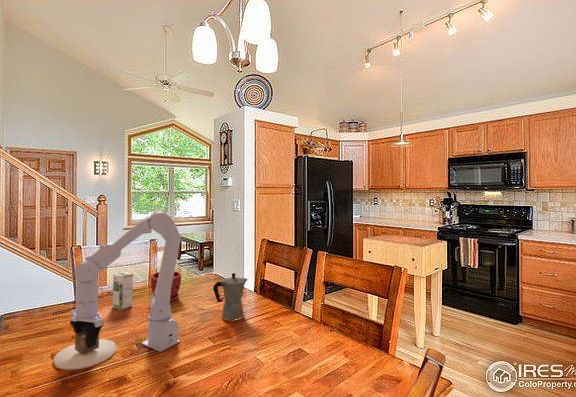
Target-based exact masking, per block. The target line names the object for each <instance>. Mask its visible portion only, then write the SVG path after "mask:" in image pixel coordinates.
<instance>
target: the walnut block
mask: <svg viewBox="0 0 576 397" xmlns="http://www.w3.org/2000/svg"><path fill="white" fill-rule="evenodd" d="M74 336H75V337H74V344H75V350H76V351H78V352H80V353H81V354H85V353H88V352H90V351H92V350H95V349H97V348H99V339H100V333H99V334H98V337H97V341H96V344H95V346H92V347H90V348H87V345H86V338H85V334H84V331H82V332H79V333H76V334H75V333H74Z"/></svg>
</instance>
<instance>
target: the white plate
mask: <svg viewBox="0 0 576 397" xmlns="http://www.w3.org/2000/svg"><path fill="white" fill-rule="evenodd" d="M116 352H117V344H116V343H115V342H114V341H112V340H111V339H105V338H104V339H100V338H99V348H97V349H95V350H92V351H90V352H88V353H85V354H81V353H80V352H78V351H76V350H75V343H74V344H71V345H69V346H67V347H64V348H63V349H62V350H60V351H59V352H57V353H56V354H55V356H54V357H53V366H55V368H58V369H60V370H63V371H75V370H81V369H87V368H90V367H93V366H96V365H99V364H102V363H105V361H107V360H109V359H110V358H112V356H113V355H114V354H115V353H116Z"/></svg>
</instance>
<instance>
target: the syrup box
mask: <svg viewBox="0 0 576 397" xmlns="http://www.w3.org/2000/svg"><path fill="white" fill-rule="evenodd" d="M112 276H113V281H112V282H113V283H112V284H113V285H112V308H114V309H116V310H119V311H122V310H124V309H127V308H129V307H132V306H133V292H134V291H133V288H134V287H133V285H134V282H133V281H134V279H133V278H134V273H131V272H126V271H122V272H121V271H120V272H116V273H114V274H113V275H112Z"/></svg>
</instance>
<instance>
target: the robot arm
mask: <svg viewBox="0 0 576 397" xmlns="http://www.w3.org/2000/svg"><path fill="white" fill-rule="evenodd" d="M150 214H151V215H148V216H146V217H145V218H143V219H141V220H140V221H139V222H137V223H135V224H134V226H132V227H131V228H130V229H129V230H128V231H126V232H125V233H123V235H122V236H121V237H119V239H117V240H116V241H114V242H107V243H105V244H104V243H102V244H101V245H99V247H98V249H97V251H95V252H94V253H93V254H91V255H90V256H89V255H87V256H86V257H85V258H84V259H85V260H84V261H81V262H80V264H79V265H78V266H77V267H76V268H75V270H74V278H75V279H76V286H75V309H71V312H70V315H71V320H70V321H69V324H70V325H71V327H72V328H73V331H74V335H75V334H76V333H79V332H82V331H84V334H85V338H86V345H87V348H90V347H92V346H95V344H96V341H97V337H98V334H99V335H100V331H101V330H102V328H103V327H104V324H105V322H104V318H103V317H102V316H101V314H100V312H99V283H98V274H99V272H102V271H104V270H105V269H106V268H108V267H109V266H110V265H111V264H113V263H114V262H115V261H116V260H117V259H119V258H120V257H121V255H122V250H123V249H125V248H126V247H127V246H129V245H130V244H131V243H132V242H134V241H135V240H137V239H138V238H139V237H141V236H142V235H144V234H146V235H147V234H152V231H154V232H155V233H157V234H159V235H161V237H162V239H164V241H165V242H164V248H163V254H162V258H161V263H160V267H159V271H158V272H159V277H158V282H157V284H156V285H157V286H156V289H155V293H154V294H153V295H152V297H150V299H149V307H150V309H149V314H148V316H147V320H148V321H147V339H146V340H144V341H143V342H141V345H142V346H145V347H148V348H151V349H153V350H154V351H158V352H160V353H161V352H163V351H165V350H167V349H168V348H170V347H174V346H175V345H177V344H179V343H180V341H181V340H180V339H179V323H178V321H176V320H175V319H174V318H173V316H172V306H171V302H170V295H171V286H172V281H173V276H174V271H176V266H177V261H178V256H179V250H180V246H181V245H180V244H181V240H182V236H181V234H180V232H179V230H178V227H177V225H176V224H175V223H176V222H175V220H173V218H172V217H171V216H170V215H169V214H167V212H165V211H164V210H156V211H154V212H152V213H150Z"/></svg>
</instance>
